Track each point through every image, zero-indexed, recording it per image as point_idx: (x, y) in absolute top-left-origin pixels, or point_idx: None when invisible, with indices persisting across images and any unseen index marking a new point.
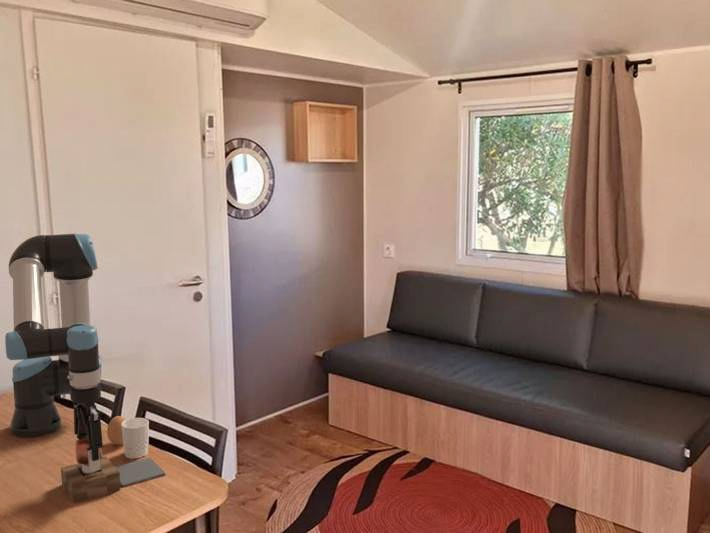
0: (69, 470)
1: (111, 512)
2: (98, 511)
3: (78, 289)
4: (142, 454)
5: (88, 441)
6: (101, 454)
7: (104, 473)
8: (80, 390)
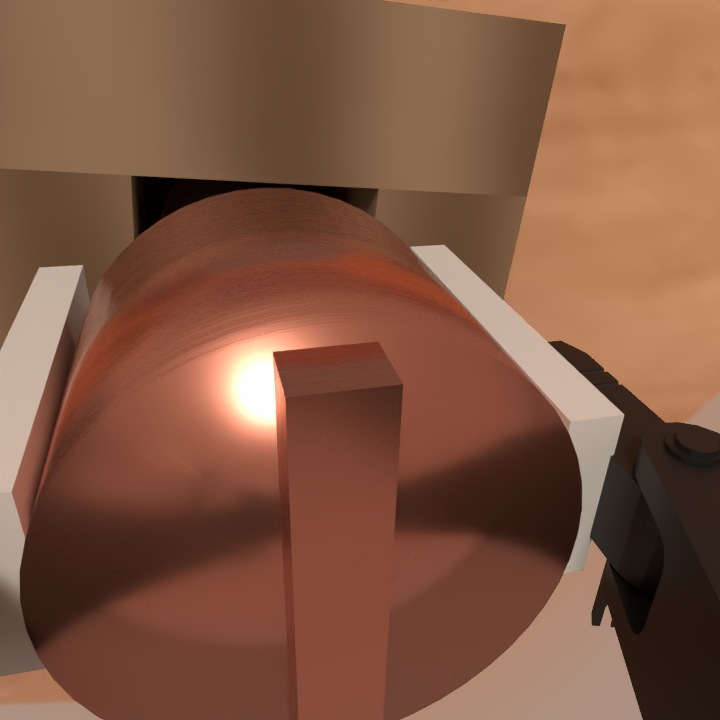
0: None
1: (712, 231)
2: (631, 297)
3: None
4: None
5: (647, 698)
6: (391, 237)
7: (454, 190)
8: None
